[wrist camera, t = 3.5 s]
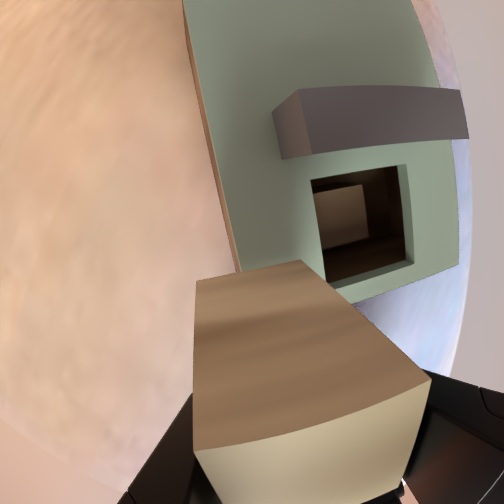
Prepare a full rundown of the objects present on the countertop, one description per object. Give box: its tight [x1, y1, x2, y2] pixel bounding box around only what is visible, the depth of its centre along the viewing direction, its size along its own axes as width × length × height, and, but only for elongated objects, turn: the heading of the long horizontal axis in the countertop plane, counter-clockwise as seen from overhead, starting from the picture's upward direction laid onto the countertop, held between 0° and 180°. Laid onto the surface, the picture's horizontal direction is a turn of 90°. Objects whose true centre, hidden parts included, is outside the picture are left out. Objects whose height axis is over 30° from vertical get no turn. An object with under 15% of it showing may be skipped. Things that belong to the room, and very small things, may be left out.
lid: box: [183, 0, 469, 304], centre depth 10 cm, size 16×12×4 cm
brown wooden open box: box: [182, 0, 406, 284], centre depth 15 cm, size 16×12×6 cm
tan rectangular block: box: [193, 259, 432, 504], centre depth 7 cm, size 4×4×7 cm
